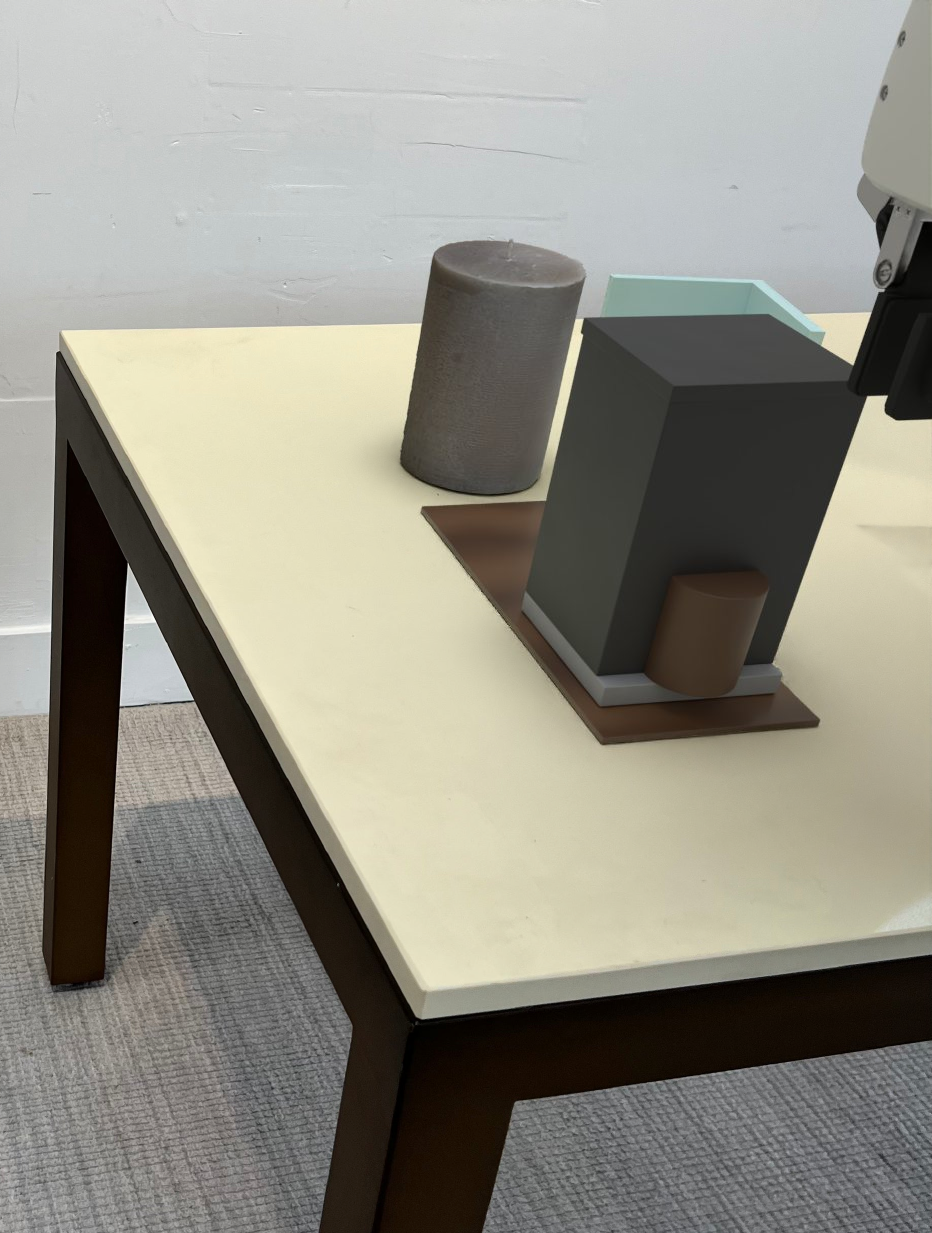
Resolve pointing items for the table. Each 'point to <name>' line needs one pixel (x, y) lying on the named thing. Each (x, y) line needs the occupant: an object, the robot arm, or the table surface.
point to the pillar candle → (490, 364)
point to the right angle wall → (701, 300)
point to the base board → (500, 564)
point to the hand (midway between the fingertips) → (903, 401)
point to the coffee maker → (686, 502)
